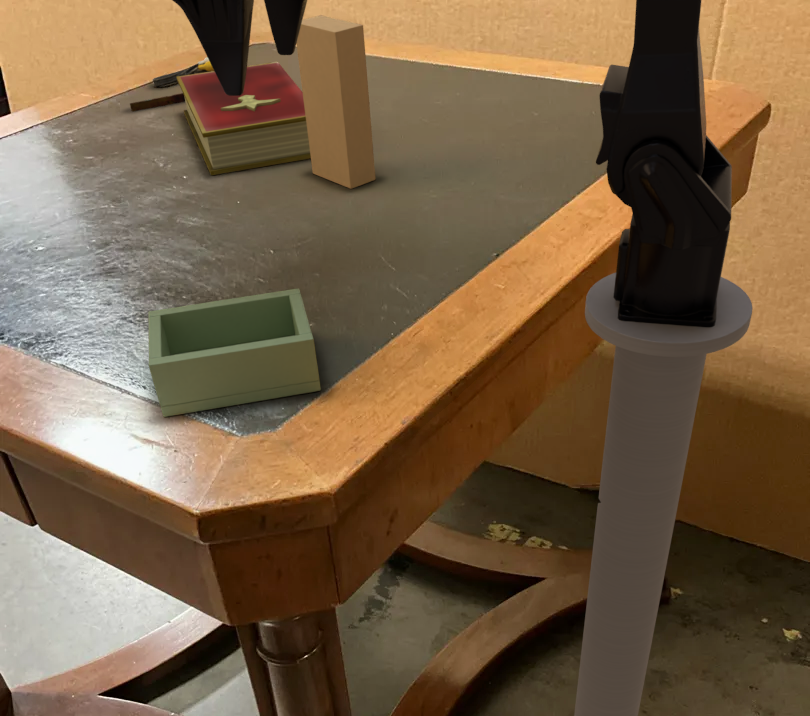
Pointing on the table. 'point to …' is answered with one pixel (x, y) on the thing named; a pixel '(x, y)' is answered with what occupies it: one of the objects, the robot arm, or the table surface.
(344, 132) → the tan rectangular block
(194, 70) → the composite cable
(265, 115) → the hardcover book
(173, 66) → the table surface
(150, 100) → the dark brown stick
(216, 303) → the holder
